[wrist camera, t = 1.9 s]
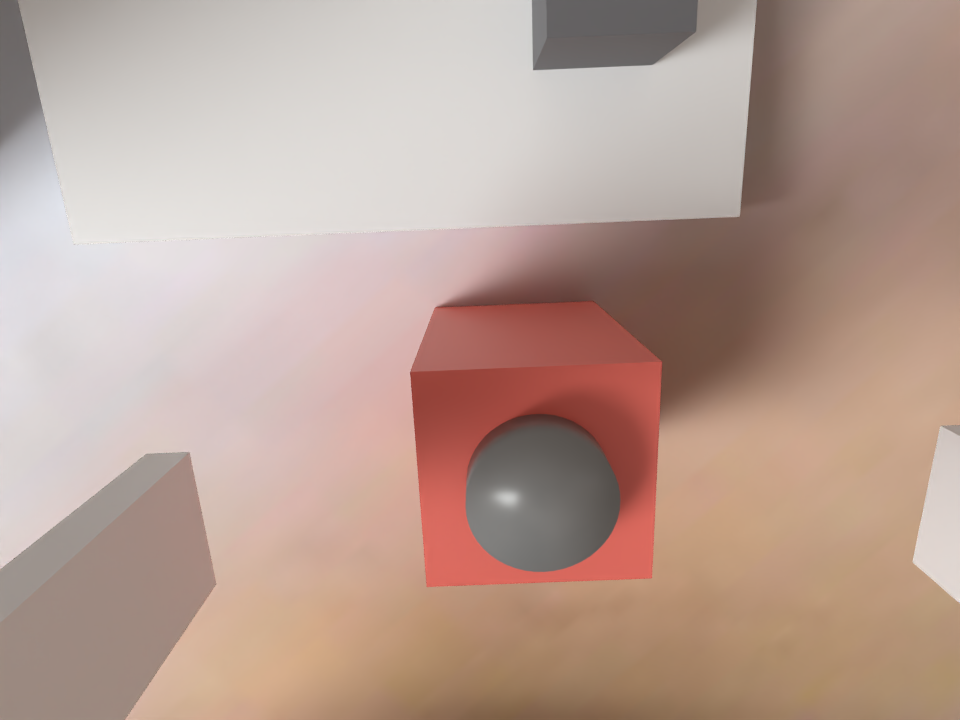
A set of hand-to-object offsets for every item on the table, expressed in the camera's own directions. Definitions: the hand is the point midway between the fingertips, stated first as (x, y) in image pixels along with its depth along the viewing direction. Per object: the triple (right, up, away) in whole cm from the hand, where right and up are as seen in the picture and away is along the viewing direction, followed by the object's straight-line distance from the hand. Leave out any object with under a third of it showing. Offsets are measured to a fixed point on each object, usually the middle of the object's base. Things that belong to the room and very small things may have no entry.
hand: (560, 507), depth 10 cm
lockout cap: (0, +2, +9) cm, 9 cm away
